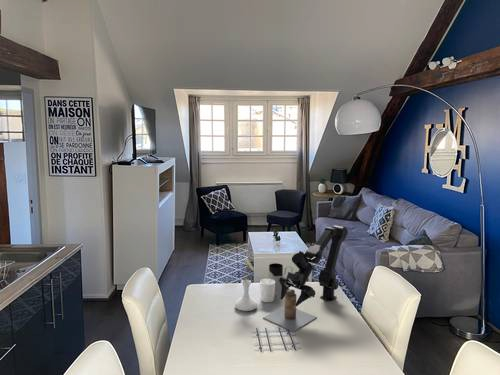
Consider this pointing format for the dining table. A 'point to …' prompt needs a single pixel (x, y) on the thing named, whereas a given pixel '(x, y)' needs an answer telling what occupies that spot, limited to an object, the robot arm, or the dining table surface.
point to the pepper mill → (290, 304)
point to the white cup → (267, 290)
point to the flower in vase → (246, 294)
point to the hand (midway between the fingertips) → (288, 302)
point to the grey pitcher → (277, 275)
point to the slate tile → (291, 325)
